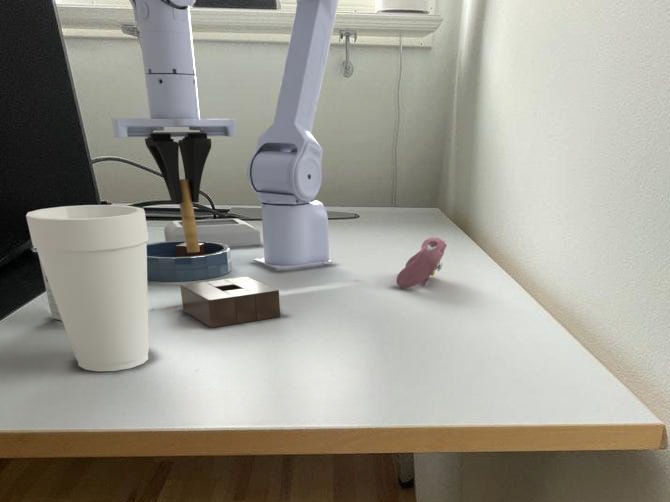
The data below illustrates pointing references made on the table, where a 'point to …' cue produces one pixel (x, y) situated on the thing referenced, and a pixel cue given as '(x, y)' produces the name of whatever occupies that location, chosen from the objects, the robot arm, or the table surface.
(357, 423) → the table surface
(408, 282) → the pink rounded piece
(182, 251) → the walnut block
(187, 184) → the stirring stick
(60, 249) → the foam cup
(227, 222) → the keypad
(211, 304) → the stick stand
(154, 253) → the bowl
